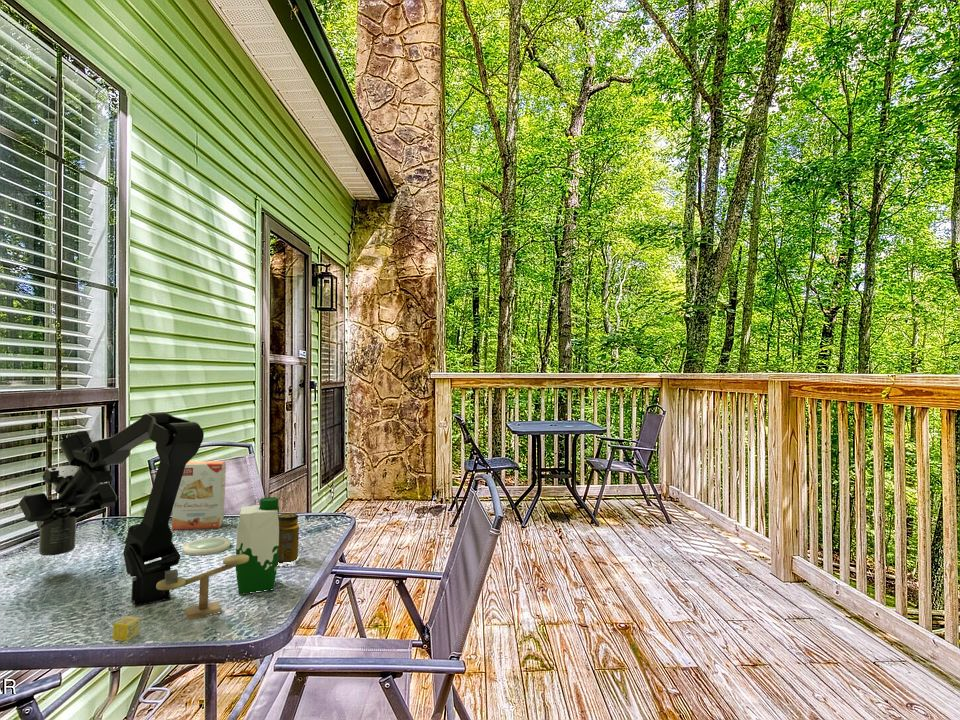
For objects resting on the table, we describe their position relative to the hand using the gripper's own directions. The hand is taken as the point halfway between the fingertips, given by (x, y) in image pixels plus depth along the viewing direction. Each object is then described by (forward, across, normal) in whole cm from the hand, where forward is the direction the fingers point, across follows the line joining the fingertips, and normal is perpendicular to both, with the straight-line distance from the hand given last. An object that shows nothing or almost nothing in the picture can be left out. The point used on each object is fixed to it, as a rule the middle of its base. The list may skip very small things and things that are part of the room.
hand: (54, 523), depth 126 cm
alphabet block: (-24, +13, +42) cm, 51 cm away
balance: (-28, +1, +45) cm, 53 cm away
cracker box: (+11, -43, +6) cm, 45 cm away
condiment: (-22, -30, +40) cm, 55 cm away
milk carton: (-27, -14, +45) cm, 54 cm away
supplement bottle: (+4, 0, +6) cm, 7 cm away
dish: (-3, -29, +21) cm, 36 cm away
